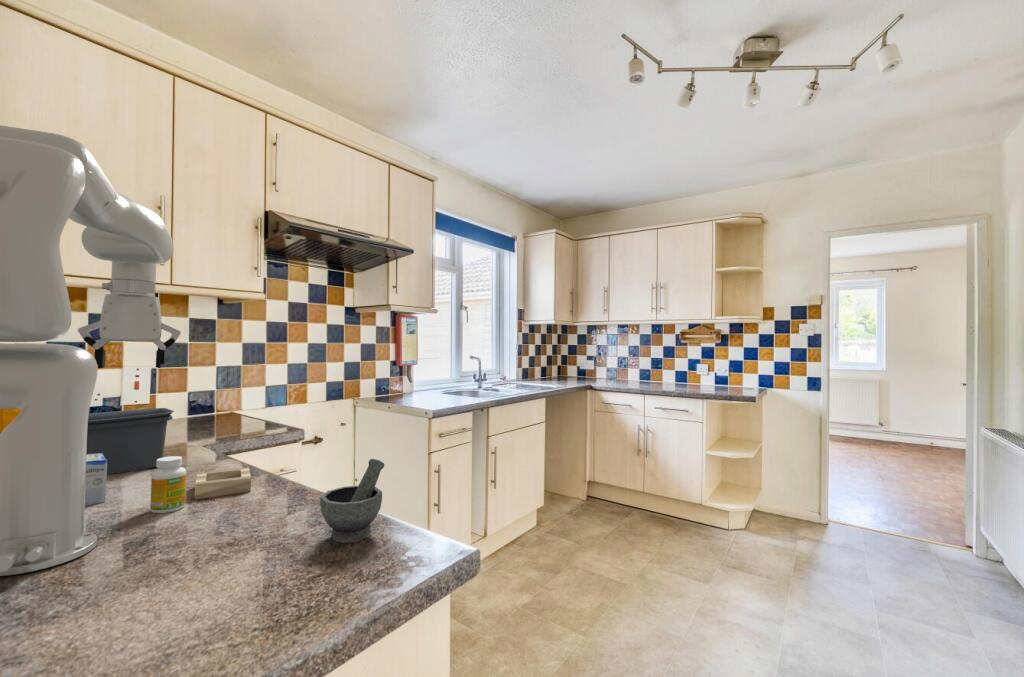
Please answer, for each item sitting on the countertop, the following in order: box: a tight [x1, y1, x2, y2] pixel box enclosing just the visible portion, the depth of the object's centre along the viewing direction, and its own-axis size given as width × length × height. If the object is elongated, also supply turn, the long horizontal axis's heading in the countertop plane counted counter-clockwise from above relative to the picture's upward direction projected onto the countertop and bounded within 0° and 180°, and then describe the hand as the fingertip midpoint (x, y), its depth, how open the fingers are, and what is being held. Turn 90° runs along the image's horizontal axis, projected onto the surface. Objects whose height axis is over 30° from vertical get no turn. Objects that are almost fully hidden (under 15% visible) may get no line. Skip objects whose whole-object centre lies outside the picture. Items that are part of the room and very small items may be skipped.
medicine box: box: [85, 453, 108, 507], centre depth 92 cm, size 8×4×9 cm, turn 47°
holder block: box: [194, 466, 252, 500], centre depth 100 cm, size 10×10×3 cm
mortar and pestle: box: [319, 458, 386, 544], centre depth 77 cm, size 11×9×12 cm
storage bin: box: [86, 407, 175, 476], centre depth 114 cm, size 21×16×14 cm
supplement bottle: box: [150, 455, 187, 514], centre depth 87 cm, size 5×5×10 cm
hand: (130, 367), depth 99 cm, fingers open, 9 cm apart
